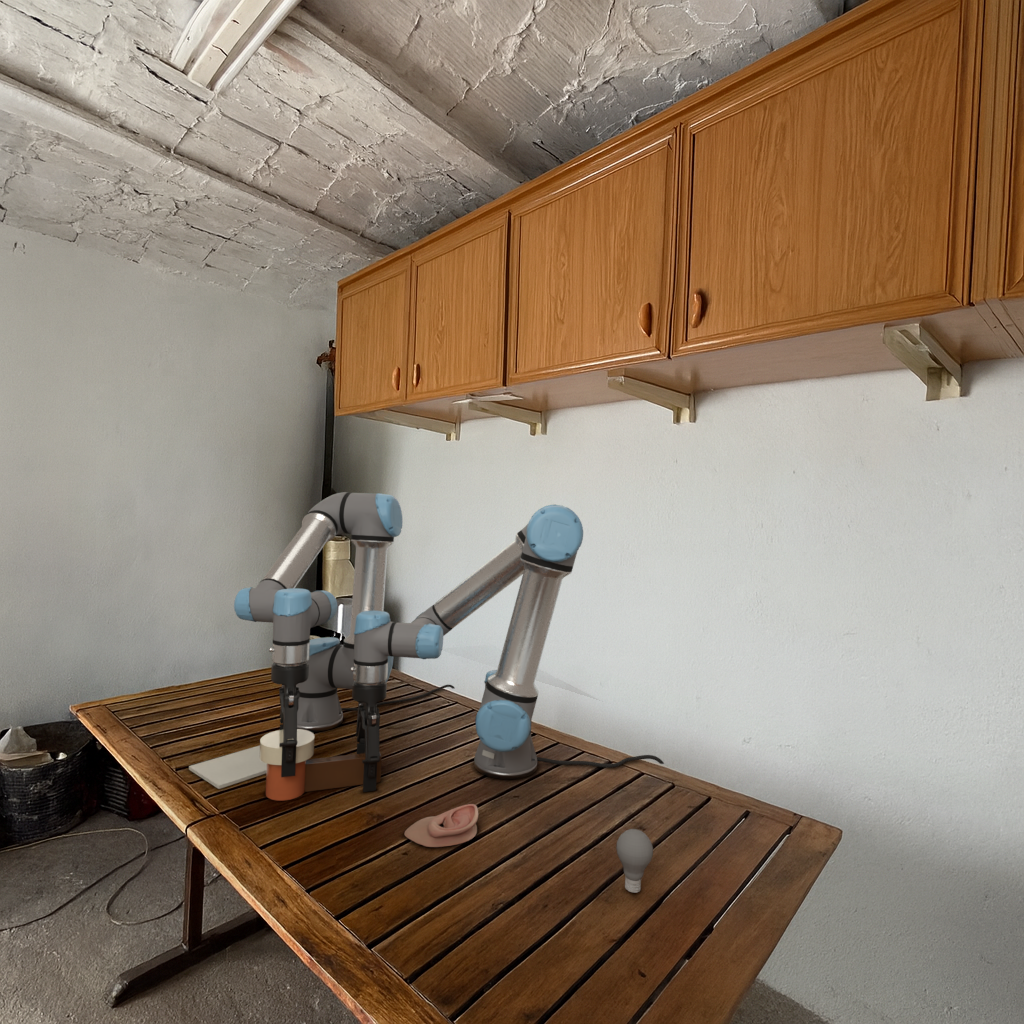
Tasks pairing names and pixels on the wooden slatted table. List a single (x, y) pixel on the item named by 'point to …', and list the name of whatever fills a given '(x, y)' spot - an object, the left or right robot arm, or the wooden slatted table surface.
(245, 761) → the grey mat
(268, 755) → the cap
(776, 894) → the wooden slatted table surface
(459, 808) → the anatomical model
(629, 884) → the light bulb
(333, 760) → the orange handled cylinder
